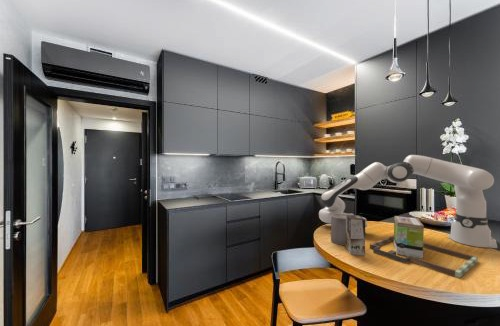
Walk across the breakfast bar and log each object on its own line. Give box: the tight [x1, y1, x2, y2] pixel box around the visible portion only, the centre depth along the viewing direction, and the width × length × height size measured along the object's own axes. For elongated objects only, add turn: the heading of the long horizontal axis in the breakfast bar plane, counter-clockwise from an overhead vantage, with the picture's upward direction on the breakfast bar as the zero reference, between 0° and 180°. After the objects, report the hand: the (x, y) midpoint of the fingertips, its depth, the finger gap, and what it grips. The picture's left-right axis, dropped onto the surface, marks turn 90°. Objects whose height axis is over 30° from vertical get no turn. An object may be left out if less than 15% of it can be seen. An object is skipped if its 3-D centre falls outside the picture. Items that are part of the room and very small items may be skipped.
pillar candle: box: [330, 213, 346, 246], centre depth 115 cm, size 10×10×15 cm
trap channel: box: [369, 234, 479, 279], centre depth 98 cm, size 28×32×2 cm
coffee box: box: [345, 214, 366, 256], centre depth 103 cm, size 9×6×16 cm
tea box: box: [393, 215, 425, 259], centre depth 103 cm, size 15×10×15 cm, turn 151°
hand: (365, 226), depth 120 cm, fingers closed
